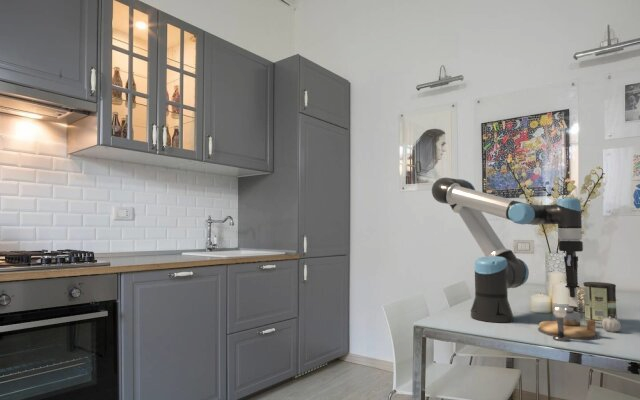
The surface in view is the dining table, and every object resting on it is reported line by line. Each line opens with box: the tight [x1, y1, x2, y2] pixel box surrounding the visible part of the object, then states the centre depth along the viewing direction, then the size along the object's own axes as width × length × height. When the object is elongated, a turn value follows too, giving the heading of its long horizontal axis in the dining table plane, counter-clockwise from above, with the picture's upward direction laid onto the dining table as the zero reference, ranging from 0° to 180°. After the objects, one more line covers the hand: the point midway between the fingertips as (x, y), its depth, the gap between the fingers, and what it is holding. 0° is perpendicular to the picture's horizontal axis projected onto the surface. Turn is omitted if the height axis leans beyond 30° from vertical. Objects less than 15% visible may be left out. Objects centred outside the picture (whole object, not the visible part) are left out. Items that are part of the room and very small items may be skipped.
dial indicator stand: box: [552, 306, 570, 342], centre depth 131 cm, size 4×7×10 cm, turn 141°
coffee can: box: [583, 281, 618, 324], centre depth 157 cm, size 10×10×14 cm
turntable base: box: [537, 326, 598, 341], centre depth 138 cm, size 17×17×1 cm
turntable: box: [539, 320, 596, 338], centre depth 138 cm, size 16×16×5 cm
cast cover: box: [556, 306, 582, 327], centre depth 142 cm, size 7×7×6 cm
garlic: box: [601, 316, 622, 333], centre depth 141 cm, size 6×5×5 cm
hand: (573, 305), depth 148 cm, fingers closed
